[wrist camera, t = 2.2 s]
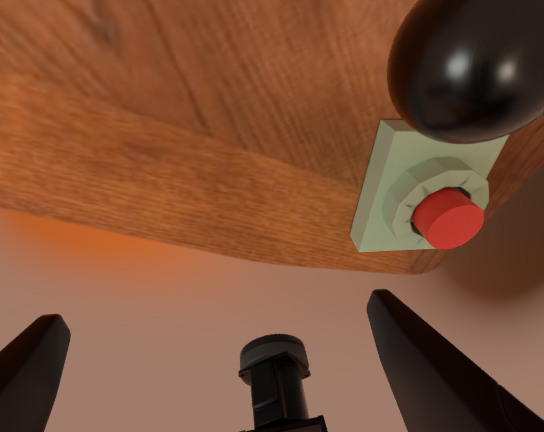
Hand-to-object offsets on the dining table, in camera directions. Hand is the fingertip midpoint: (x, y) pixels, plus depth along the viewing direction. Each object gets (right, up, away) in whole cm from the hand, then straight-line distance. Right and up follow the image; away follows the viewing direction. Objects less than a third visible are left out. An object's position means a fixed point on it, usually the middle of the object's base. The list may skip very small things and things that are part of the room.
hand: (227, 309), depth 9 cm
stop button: (+13, +3, +12) cm, 18 cm away
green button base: (+12, +5, +15) cm, 20 cm away
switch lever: (+5, +16, -6) cm, 18 cm away
